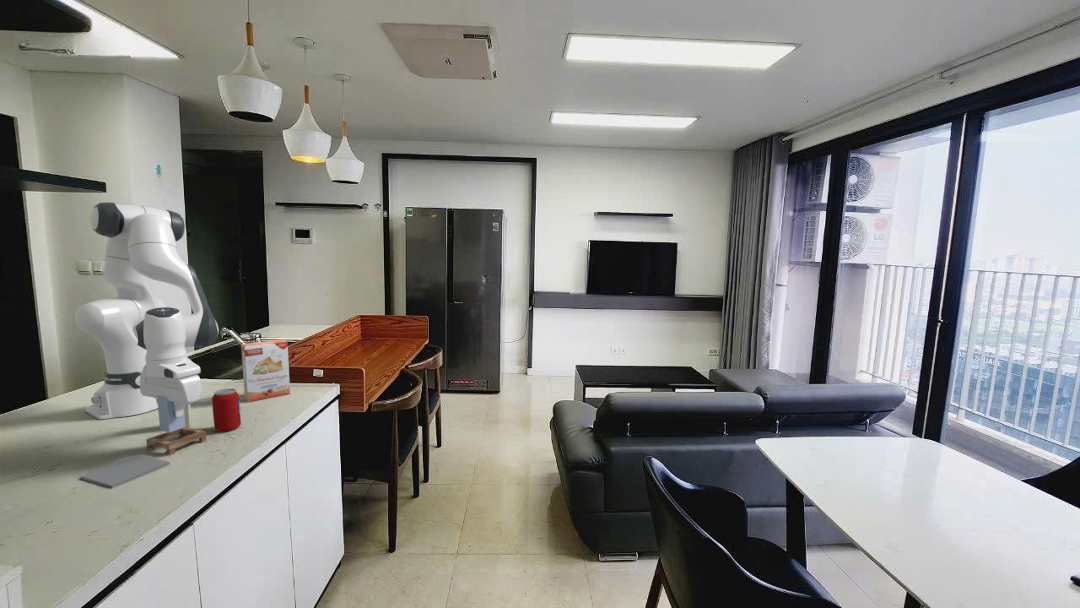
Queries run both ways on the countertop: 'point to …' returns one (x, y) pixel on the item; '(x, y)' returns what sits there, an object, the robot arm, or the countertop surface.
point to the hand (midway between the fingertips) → (171, 414)
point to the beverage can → (226, 410)
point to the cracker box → (265, 369)
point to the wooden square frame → (170, 446)
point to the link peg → (169, 415)
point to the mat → (124, 470)
